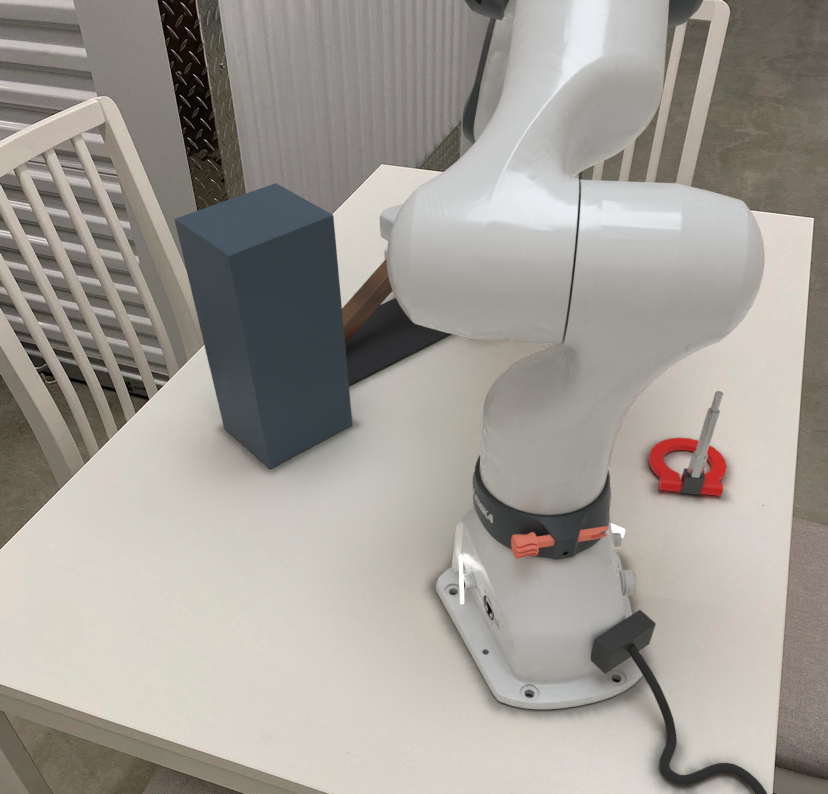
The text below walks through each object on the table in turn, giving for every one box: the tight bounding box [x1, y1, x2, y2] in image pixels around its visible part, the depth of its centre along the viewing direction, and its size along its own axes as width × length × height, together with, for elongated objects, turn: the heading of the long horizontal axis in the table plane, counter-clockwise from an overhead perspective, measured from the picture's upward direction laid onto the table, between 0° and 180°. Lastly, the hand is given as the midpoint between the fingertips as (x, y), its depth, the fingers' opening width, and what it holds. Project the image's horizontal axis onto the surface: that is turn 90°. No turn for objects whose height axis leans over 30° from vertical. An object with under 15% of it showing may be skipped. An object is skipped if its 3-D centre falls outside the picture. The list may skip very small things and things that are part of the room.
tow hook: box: [648, 390, 728, 497], centre depth 88 cm, size 8×13×9 cm
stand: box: [173, 182, 353, 470], centre depth 89 cm, size 12×10×26 cm
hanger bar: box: [342, 258, 393, 344], centre depth 105 cm, size 22×2×6 cm, turn 131°
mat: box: [345, 297, 452, 387], centre depth 111 cm, size 20×12×1 cm, turn 131°
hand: (397, 262), depth 106 cm, fingers closed on hanger bar, 2 cm apart
